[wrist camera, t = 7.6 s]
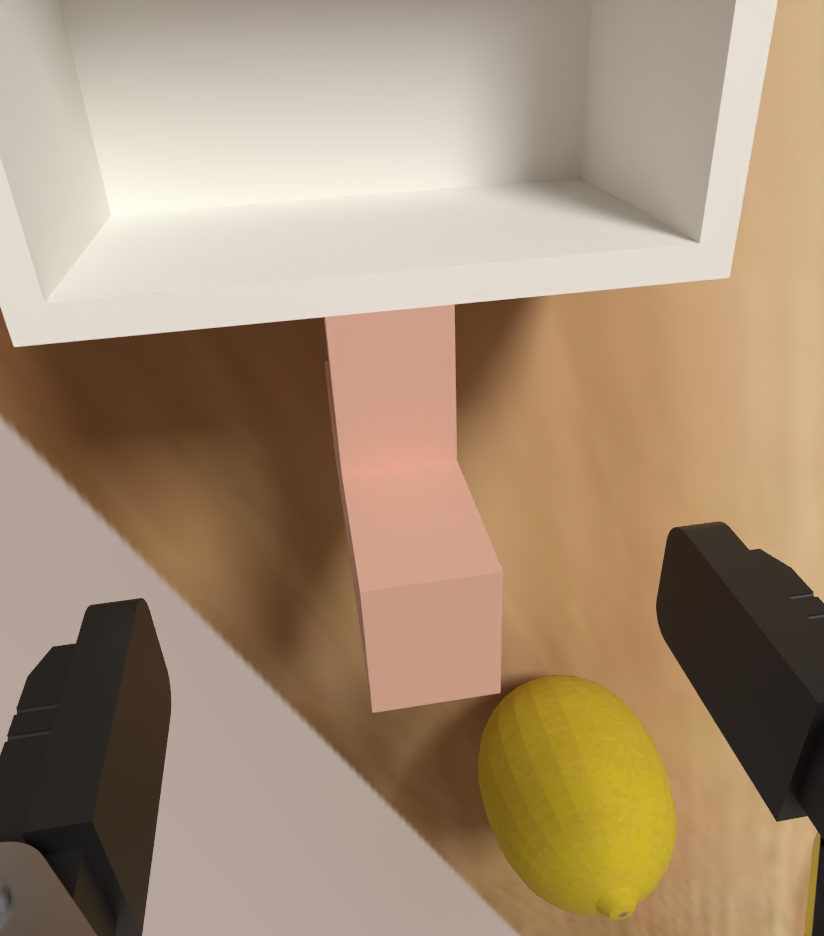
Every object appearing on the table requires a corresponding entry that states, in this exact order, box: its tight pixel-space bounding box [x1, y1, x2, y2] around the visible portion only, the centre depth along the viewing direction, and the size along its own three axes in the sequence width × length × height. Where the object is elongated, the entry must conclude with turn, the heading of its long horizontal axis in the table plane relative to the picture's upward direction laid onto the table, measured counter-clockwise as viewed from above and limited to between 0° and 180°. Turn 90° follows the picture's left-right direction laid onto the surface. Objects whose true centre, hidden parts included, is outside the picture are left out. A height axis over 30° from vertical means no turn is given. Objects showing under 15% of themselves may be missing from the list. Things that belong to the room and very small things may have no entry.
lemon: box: [478, 675, 677, 920], centre depth 23 cm, size 6×6×8 cm
